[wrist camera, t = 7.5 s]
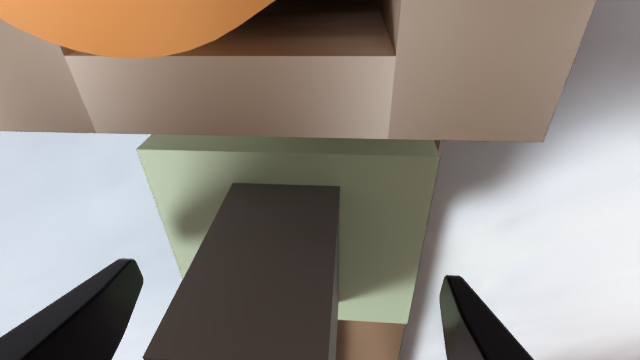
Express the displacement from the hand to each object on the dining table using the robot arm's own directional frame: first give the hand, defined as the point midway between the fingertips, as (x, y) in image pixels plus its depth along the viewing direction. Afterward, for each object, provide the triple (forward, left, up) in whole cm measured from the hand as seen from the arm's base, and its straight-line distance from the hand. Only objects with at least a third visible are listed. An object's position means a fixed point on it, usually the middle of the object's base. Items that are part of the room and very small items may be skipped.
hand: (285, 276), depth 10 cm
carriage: (0, 0, -4) cm, 4 cm away
